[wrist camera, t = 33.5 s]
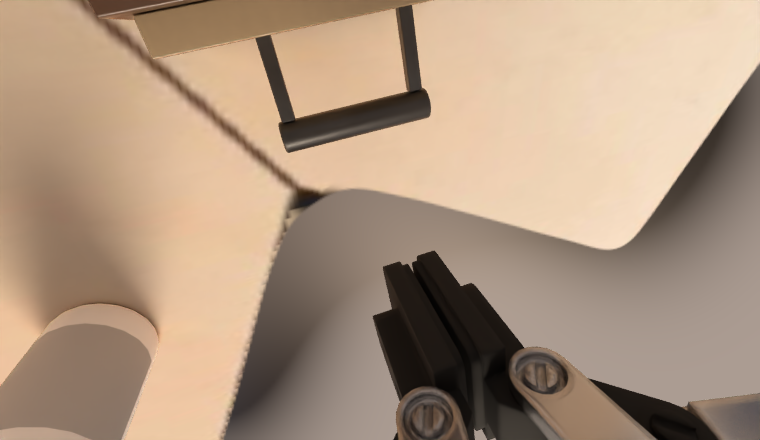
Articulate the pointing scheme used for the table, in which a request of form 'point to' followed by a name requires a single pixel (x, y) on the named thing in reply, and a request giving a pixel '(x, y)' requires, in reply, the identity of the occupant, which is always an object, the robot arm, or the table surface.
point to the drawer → (260, 20)
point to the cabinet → (132, 7)
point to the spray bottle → (80, 377)
